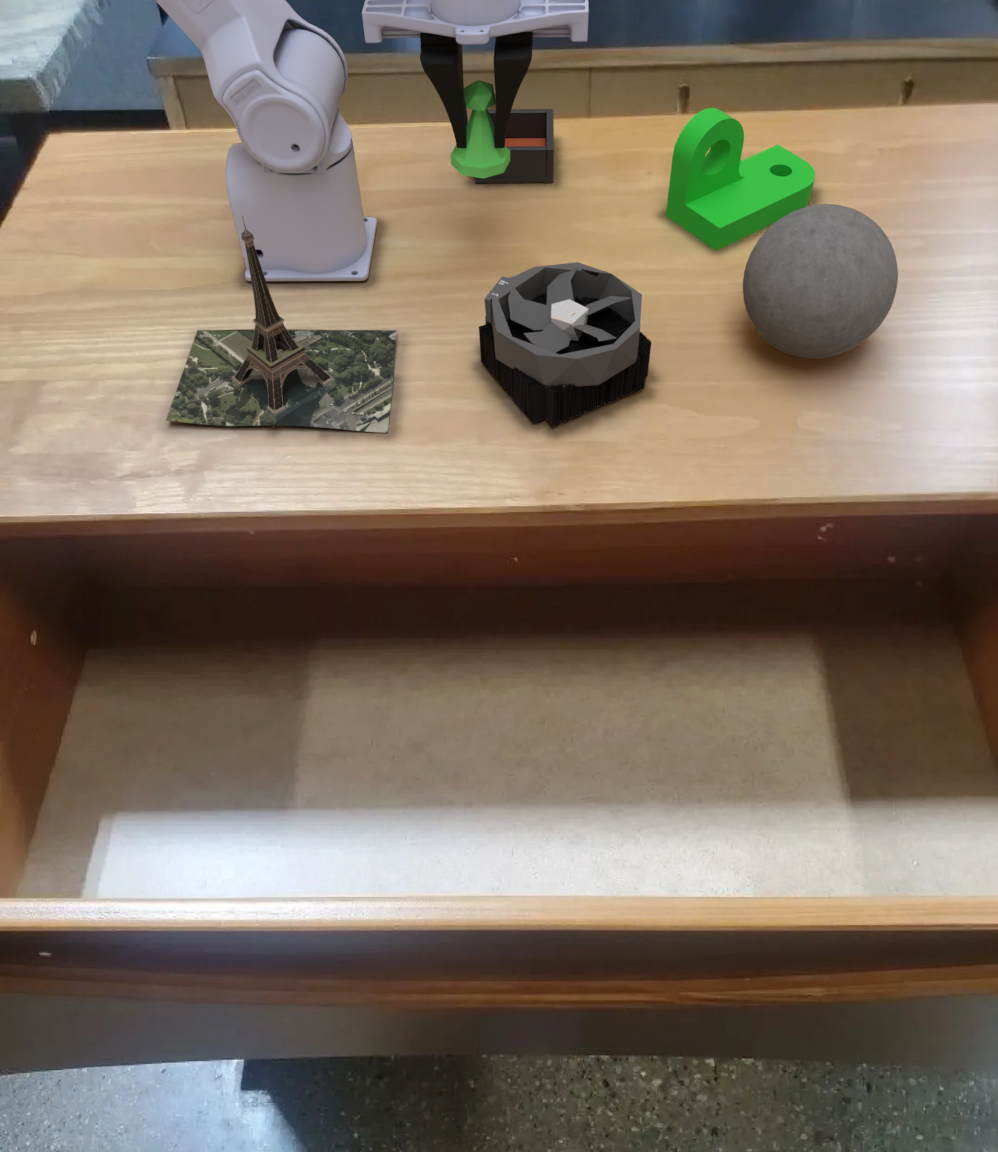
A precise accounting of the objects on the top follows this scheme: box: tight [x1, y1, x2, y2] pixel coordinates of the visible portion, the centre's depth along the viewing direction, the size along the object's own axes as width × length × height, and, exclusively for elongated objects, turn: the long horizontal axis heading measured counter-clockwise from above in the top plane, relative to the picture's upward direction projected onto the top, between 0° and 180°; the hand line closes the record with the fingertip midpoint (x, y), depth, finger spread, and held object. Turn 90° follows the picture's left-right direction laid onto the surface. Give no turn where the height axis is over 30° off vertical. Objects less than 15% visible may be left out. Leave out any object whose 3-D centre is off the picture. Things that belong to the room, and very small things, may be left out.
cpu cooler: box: [478, 261, 652, 428], centre depth 69 cm, size 10×6×10 cm
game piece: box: [450, 79, 510, 179], centre depth 72 cm, size 4×4×6 cm
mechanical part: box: [665, 107, 816, 252], centre depth 80 cm, size 12×6×8 cm, turn 125°
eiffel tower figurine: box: [165, 216, 398, 434], centre depth 66 cm, size 15×10×13 cm
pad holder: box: [474, 108, 555, 184], centre depth 87 cm, size 7×7×3 cm
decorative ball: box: [742, 203, 899, 359], centre depth 69 cm, size 10×10×10 cm
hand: (480, 141), depth 73 cm, fingers closed on game piece, 2 cm apart
